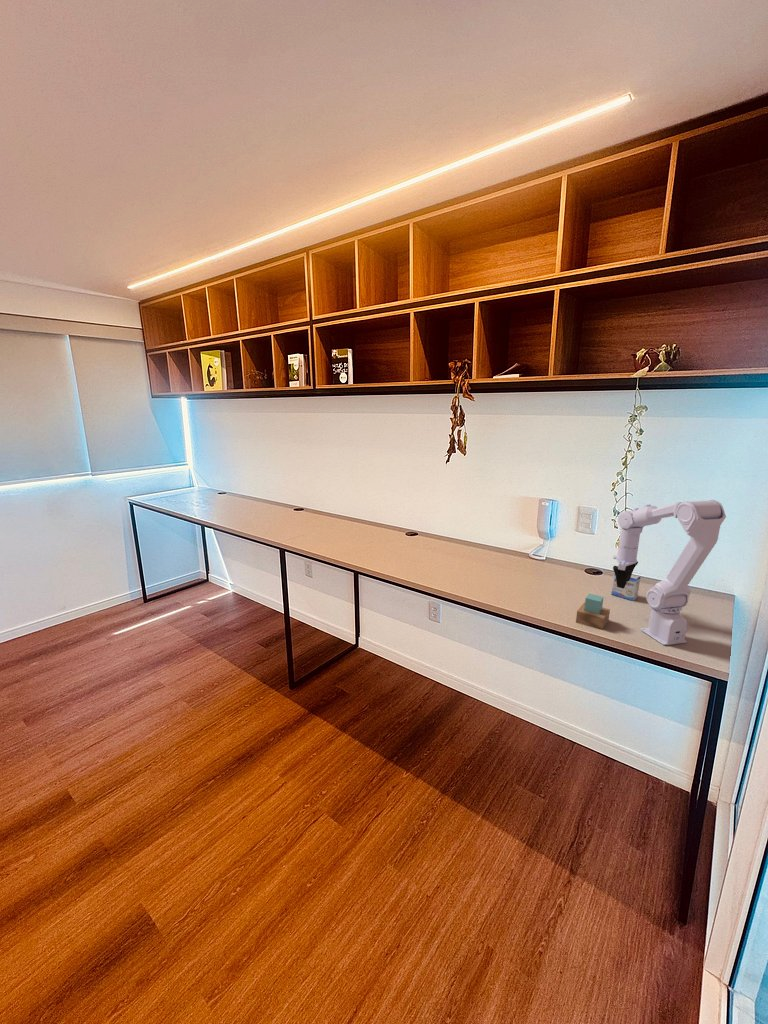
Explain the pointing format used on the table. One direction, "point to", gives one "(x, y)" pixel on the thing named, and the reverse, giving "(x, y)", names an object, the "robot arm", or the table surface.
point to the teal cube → (593, 603)
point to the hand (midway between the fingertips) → (623, 583)
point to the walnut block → (593, 617)
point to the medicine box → (627, 588)
